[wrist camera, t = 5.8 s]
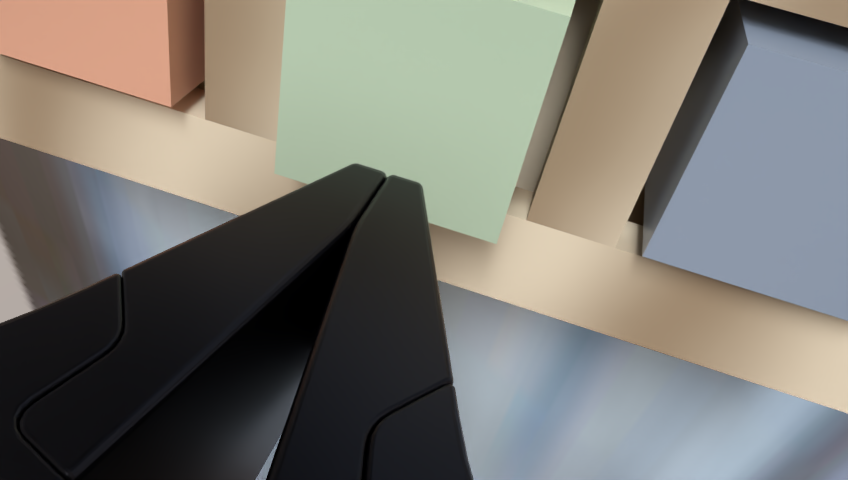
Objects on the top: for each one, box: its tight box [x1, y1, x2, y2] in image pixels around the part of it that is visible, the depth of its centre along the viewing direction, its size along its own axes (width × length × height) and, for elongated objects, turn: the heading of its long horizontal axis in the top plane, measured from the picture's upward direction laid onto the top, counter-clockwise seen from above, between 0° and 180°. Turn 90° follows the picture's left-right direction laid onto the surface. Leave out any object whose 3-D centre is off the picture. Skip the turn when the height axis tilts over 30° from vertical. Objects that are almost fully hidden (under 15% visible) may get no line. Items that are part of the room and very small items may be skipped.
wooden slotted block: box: [0, 0, 848, 413], centre depth 14 cm, size 20×9×4 cm, turn 78°
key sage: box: [274, 0, 576, 244], centre depth 12 cm, size 4×4×2 cm
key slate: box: [642, 0, 848, 321], centre depth 12 cm, size 4×4×2 cm
